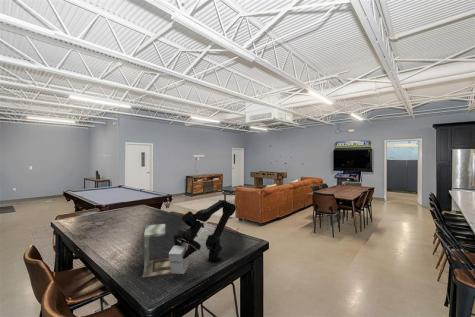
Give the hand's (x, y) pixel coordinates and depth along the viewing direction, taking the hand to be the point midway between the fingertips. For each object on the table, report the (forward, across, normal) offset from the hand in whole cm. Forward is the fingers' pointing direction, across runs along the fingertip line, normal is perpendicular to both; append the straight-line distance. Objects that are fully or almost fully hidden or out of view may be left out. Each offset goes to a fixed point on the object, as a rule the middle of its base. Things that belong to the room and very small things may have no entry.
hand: (178, 256), depth 124 cm
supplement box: (+5, 0, +7) cm, 8 cm away
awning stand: (+8, -18, +9) cm, 21 cm away
